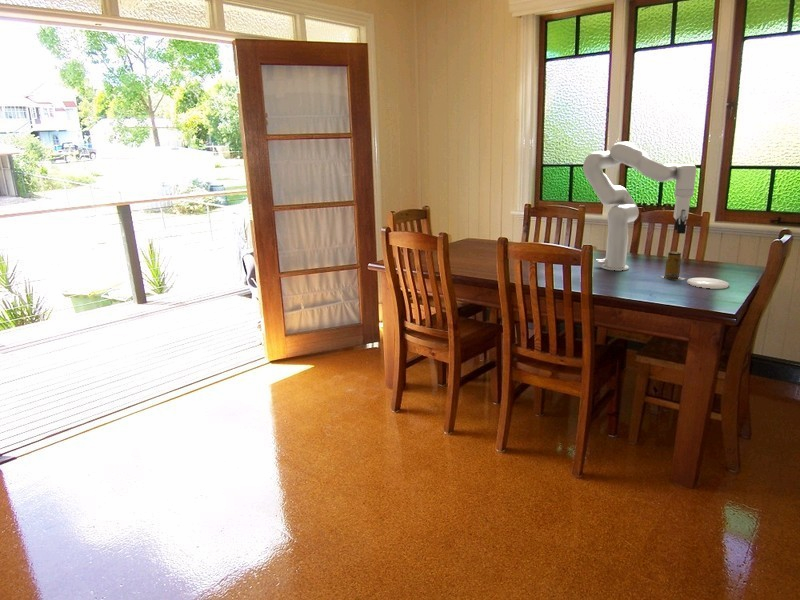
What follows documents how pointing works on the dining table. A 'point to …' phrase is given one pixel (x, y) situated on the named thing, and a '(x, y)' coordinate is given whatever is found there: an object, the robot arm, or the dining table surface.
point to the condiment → (673, 266)
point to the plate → (708, 283)
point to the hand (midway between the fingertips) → (679, 231)
